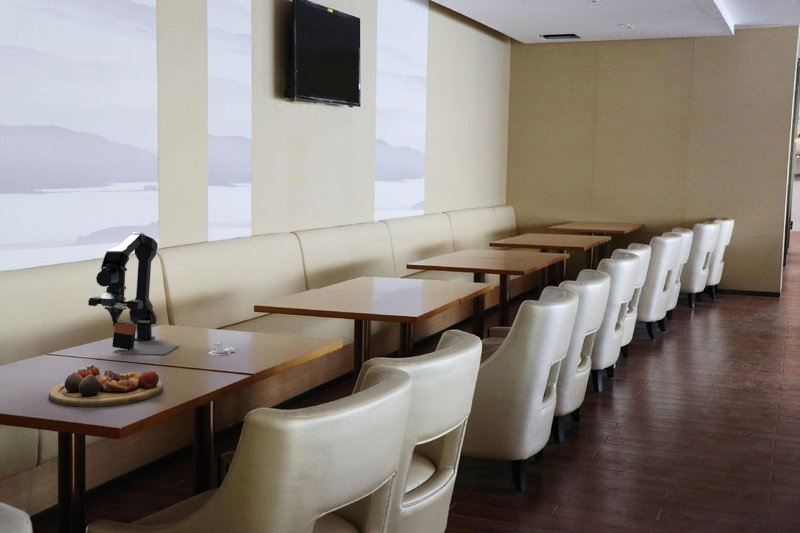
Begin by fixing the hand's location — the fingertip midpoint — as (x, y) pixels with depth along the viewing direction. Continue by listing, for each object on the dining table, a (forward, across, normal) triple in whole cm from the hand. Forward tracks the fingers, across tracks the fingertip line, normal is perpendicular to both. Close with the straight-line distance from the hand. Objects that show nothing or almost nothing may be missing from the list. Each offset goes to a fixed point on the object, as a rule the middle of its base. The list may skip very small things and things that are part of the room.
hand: (114, 326), depth 328 cm
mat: (+8, +14, +1) cm, 16 cm away
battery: (+8, +3, 0) cm, 9 cm away
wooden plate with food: (+10, +25, -62) cm, 68 cm away
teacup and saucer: (+7, +42, -2) cm, 43 cm away
